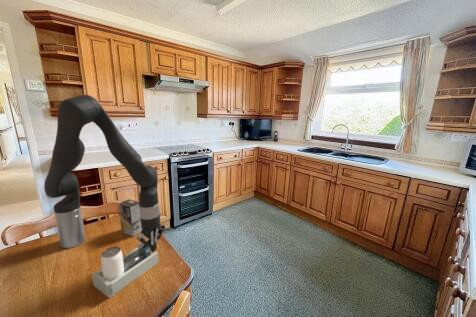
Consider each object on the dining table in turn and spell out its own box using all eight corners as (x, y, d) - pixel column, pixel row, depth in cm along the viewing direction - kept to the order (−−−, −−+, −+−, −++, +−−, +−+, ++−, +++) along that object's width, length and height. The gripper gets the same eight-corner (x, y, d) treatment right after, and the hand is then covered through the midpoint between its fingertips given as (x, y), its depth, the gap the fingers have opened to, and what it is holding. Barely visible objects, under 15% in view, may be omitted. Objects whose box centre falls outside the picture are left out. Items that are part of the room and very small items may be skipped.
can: (116, 289, 70) (112, 259, 67) (99, 286, 71) (95, 256, 68) (129, 275, 76) (126, 247, 74) (113, 272, 77) (110, 244, 75)
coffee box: (143, 230, 107) (141, 202, 103) (133, 237, 101) (130, 207, 98) (131, 226, 111) (129, 198, 107) (120, 232, 105) (117, 203, 102)
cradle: (93, 285, 72) (91, 273, 71) (143, 253, 89) (142, 243, 88) (109, 298, 68) (107, 285, 67) (158, 261, 85) (158, 251, 84)
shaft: (119, 271, 78) (117, 258, 76) (143, 255, 87) (142, 243, 85) (126, 276, 75) (125, 262, 74) (151, 259, 84) (150, 247, 83)
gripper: (141, 223, 77) (145, 263, 80) (168, 210, 88) (171, 245, 92) (129, 218, 80) (133, 256, 84) (157, 205, 91) (159, 239, 95)
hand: (153, 250), depth 88 cm, fingers closed
